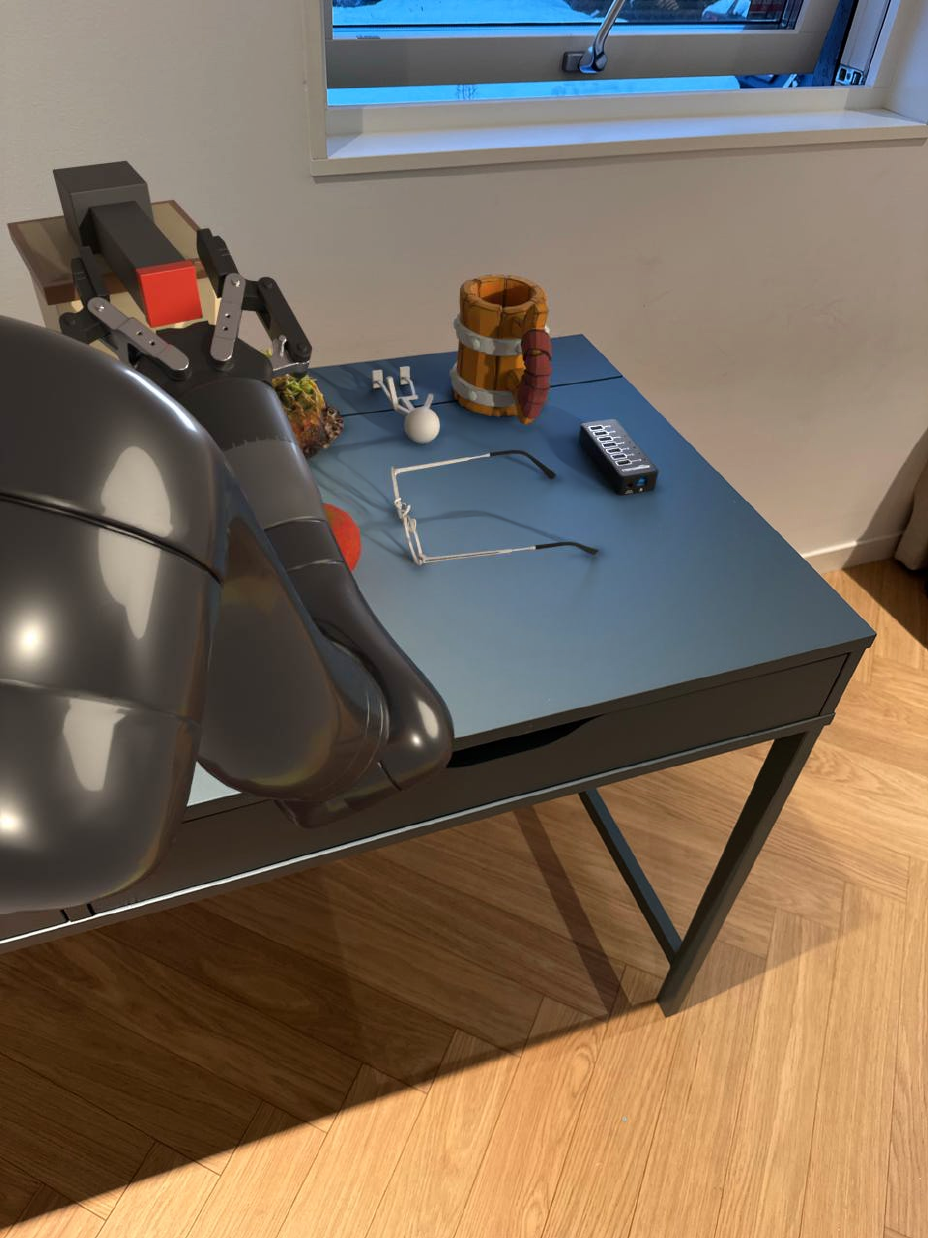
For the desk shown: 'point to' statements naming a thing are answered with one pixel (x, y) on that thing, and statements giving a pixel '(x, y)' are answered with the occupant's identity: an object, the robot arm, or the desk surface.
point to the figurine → (410, 408)
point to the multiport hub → (618, 457)
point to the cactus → (307, 412)
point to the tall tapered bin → (101, 267)
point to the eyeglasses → (428, 559)
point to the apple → (345, 534)
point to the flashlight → (129, 239)
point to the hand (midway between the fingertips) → (144, 247)
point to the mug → (502, 347)
